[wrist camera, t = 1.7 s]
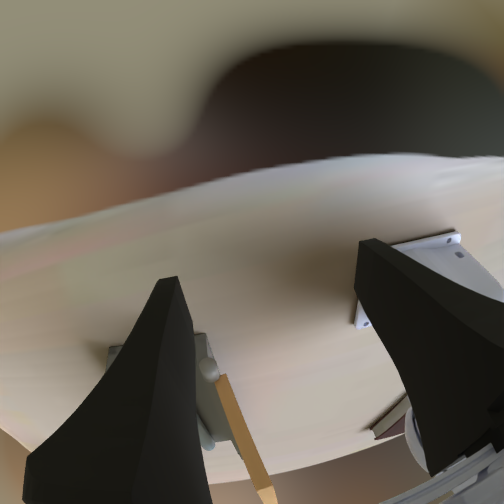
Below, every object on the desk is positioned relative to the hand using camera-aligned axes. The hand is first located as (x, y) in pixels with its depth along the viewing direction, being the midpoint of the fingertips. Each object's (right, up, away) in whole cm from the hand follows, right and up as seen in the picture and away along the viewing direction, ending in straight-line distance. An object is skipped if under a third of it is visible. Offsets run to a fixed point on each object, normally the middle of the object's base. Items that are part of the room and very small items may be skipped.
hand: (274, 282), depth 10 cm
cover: (-1, -17, +12) cm, 21 cm away
